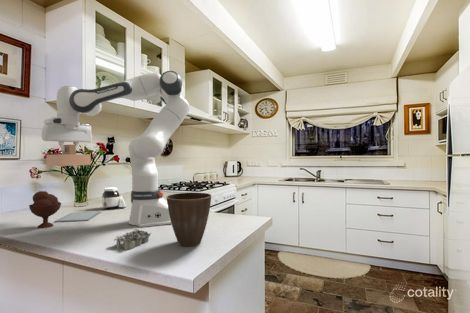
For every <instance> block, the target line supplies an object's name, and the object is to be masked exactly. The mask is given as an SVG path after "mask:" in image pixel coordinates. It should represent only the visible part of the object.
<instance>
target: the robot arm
mask: <svg viewBox="0 0 470 313" xmlns="http://www.w3.org/2000/svg"><path fill="white" fill-rule="evenodd" d="M153 96H160V101H162V102H163V103H164V106H163V107H162V108H161V110H160V111H158V113H157V114H156V115H155V116H154V117H153V118H152V120H151V122H150V123H149V125H148V127H146V129H145V131H144V132H143V133H142V134H141V135H139V136H135V137H134V138H132V139H131V140H130V142H129V145H128V152H129V159H130V166H131V168H130V169H131V178H132V179H131V184H132V188H131V190H130V192H131V193H130V203H131V210H130V214H129V220H128V224H129V225H132V226H137V227H140V228H143V227H144V228H145V227H154V226H162V225H164V226H165V225H172V223H171V219H170V215H169V210H168V204H167V199H166V198H164V192H163V190H160V189H159V172H158V169H157V165H156V161H155V159H156V158H158V157H159V156H161V155H162V154H163V151H164V149H165V147H166V145H167V144H168V142H169V141H170V138H171V136H172V135H173V134H174V133H175V131H176V130H177V129H178V128H179V127H180V125H181V124H182V123H183V121H184V120H185V118H186V117H187V115H188V114H189V112H190V109H191V108H190V106H191V105H190V103H189V102H188V100H187V99H185V89H184V85H183V80H182V78H181V76H180V74H179V73H178V72H176V71H173V70H167V71H163V73H158V72H151V73H145V74H140V75H138V76H133V77H132V78H129V79H125V80H123V81H120V82H117V83H113V84H108V85H104V86H102V87H98V88H93V89H89V88H87V89H86V88H85V89H84V88H77V87H76V86H73V85H71V86H70V85H68V86H67V85H65V86H61V87H59V88H58V89H57V92H56V107H57V112H56V116H55V117H51V118H47V119H44V121H43V122H44V126H42V130H41V139H42V141H44V142H58V145H59V147H60V149H61V152H66V151H67V148H65V147H64V145H65V143H66V142H67V143H73V144H72V145H76V149H77V148H78V146H79V144H80V143H91V142H93V133H92V126H91V125H90V124H89V123H84V122H83V123H82V122H80V115H85V116H89V117H94V116H97V115H99V114H100V113H101V112H102V108H103V106H102V104H103V103H105V102H110V101H113V100H117V99H125V100H126V99H127V100H130V101H141V100H142V101H143V100H145V99H148V98H151V97H153Z"/></svg>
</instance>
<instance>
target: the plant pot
mask: <svg viewBox="0 0 470 313" xmlns="http://www.w3.org/2000/svg"><path fill="white" fill-rule="evenodd" d="M165 199H166V201H167V204H168V210H169V215H170V219H171V223H172V224H171V227H172V230H173V233H174V235H175V238H176V241H177V243H178V245H179V246H182V247H188V248H189V247H195V246H198V245H200V244H201V243H202V241H203V240H202V239H203V237H204V235H205V231H206V227H207V224H208V220H209V214H210V210H211V209H210V208H211V204H212V203H211V202H212V194H210V193H206V192H180V193H173V194H168V195H167V196H166V198H165Z"/></svg>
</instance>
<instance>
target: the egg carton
mask: <svg viewBox="0 0 470 313" xmlns="http://www.w3.org/2000/svg"><path fill="white" fill-rule="evenodd" d="M151 234H152V232H149V233H148V231H145V230H142V229H141V230H140V229H137V228H135V229H134V230H133V231H130V232H126V233H125V234H122V235H117V236H115V238H114V239H113V241H114V242H115V241H116V249H121V248H123V247H124V250H125V251H126V250H132V249H133V250H134V249H135V247H137V245H138V246H142V245H143V243H148V241H149V242H150V240H149V237H151ZM142 242H143V243H142ZM141 244H142V245H141Z"/></svg>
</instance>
